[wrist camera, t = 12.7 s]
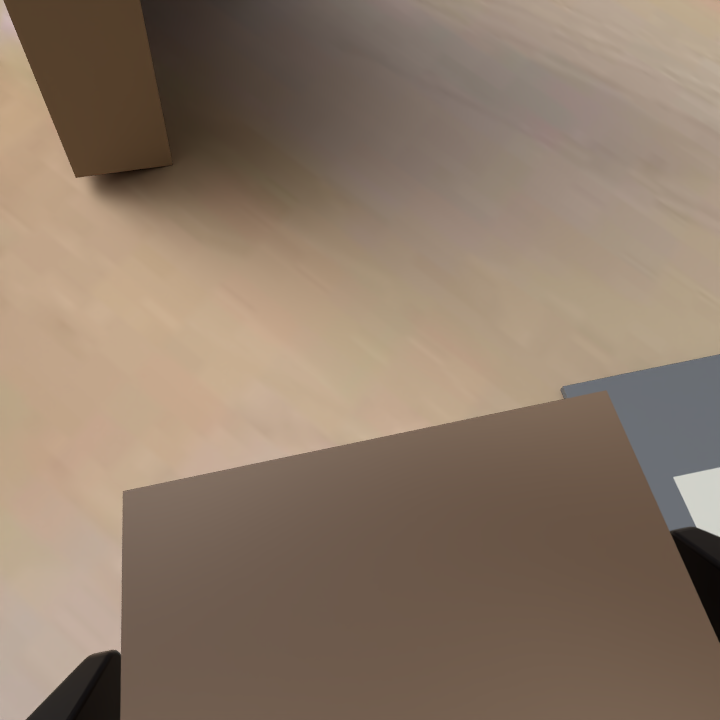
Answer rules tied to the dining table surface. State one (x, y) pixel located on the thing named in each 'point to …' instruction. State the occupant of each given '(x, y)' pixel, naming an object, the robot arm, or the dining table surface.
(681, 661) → the walnut block
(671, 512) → the metal tile
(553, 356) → the dining table surface
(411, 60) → the dining table surface
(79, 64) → the photo frame
